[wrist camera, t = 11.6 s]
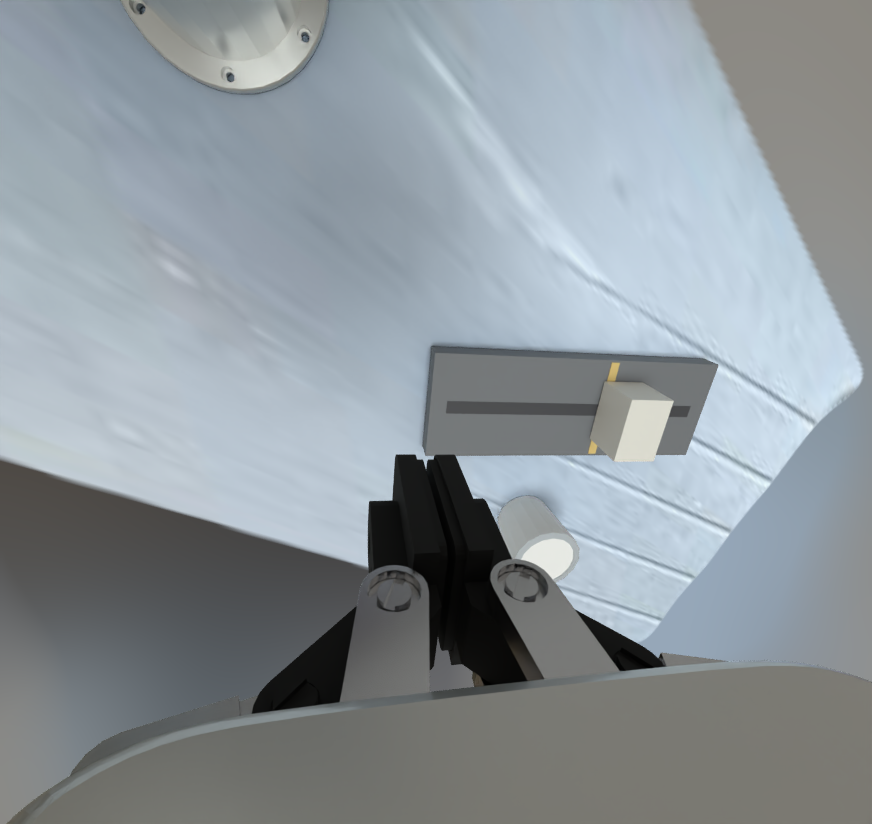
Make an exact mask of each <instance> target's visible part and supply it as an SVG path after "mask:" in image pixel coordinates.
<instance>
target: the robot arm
mask: <svg viewBox="0 0 872 824" xmlns="http://www.w3.org/2000/svg"><path fill="white" fill-rule="evenodd" d="M120 1H121V3H122V5H123V7H124V8H125V10H126V12H127V14H128V16H129V17H130V19H131V20H132V22H133V23H134V24H135V26H136V27H137V28H138V30H139V31H140V32H141V34H142V35H143V36H144V38H145V39H146V40H147V41H148V42H149V43H150V44H151V45H152V46H153V47H154V48H155V49H156V50H157V51H158V52H159V53H160V54H161V55H162V56H163V57H164V58H165V59H166V60H167V61H168V62H170V63H171V64H172V65H173V66H175V67H176V68H177V69H178V70H180V71H181V72H183V73H185V74H186V75H188V76H189V77H191V78H193V79H194V80H196V81H197V82H199V83H202V84H204V85H207V86H209V87H212V88H214V89H217V90H220V91H225V92H230V93H235V94H256V93H260V92H264V91H268V90H272V89H275V88H277V87H279V86H280V85H282V84H284V83H286V82H288V81H290V80H291V79H292V78H293V77H294V76H295V75H297V74H298V73H299V72H300V71H301V70H302V69H303V68H304V67H305V65H306V64H307V63H308V61H309V60H310V58H311V57H312V56H313V54H314V53H315V50H316V48H317V46H318V44H319V42H320V39H321V37H322V35H323V31H324V27H325V23H326V19H327V15H328V5H329V0H120ZM142 6H144V7H145V12H144V13H143V14H140V7H142ZM305 34H306V35H308V36H309V41H308V42H306V43H305V42H303V41H302V36H303V35H305ZM229 74H233V75H234V77H235V79H234V81H233V82H229V81H228V79H227V78H228V75H229ZM368 566H369V574H368V576H367V577H366V578H365V579H364V580H363V582H362V585H361V587H360V592H359V597H358V604H357V606H356V607H355V608H354V609H353V610H352V611H350V612H349V613H348V614H347V615H346V616H345V617H343V618H342V619H341V620H340V621H339V622H338V623H337V624H335V625H334V626H333V627H332V628H331V629H330V630H329V631H328V632H326V633H325V634H324V635H323V636H322V637H321V638H319V639H318V640H317V641H316V642H315V643H314V644H313V645H311V646H310V647H309V648H308V649H307V650H305V651H304V652H303V653H302V654H301V655H300V656H299V657H297V658H296V659H295V660H294V661H293V662H292V663H291V664H289V665H288V666H287V667H286V668H285V669H284V670H283V671H281V672H280V673H279V674H278V675H277V676H276V677H274V678H273V679H272V680H271V681H270V682H269V683H268V684H267V685H266V686H265V687H264V688H263V690H262V691H261V692H260V693H259V695H258V696H255V697H252V698H249V699H246V700H243V701H240V702H239V696H235V697H232V698H229V699H226V700H223V701H219V702H216V703H213V704H210V705H207V706H203V707H200V708H197V709H194V710H191V711H188V712H184V713H181V714H178V715H175V716H172V717H168V718H165V719H162V720H159V721H156V722H153V723H150V724H146V725H143V726H140V727H137V728H134V729H131V730H127V731H124V732H121V733H119V734H117V735H114V736H112V737H110V738H108V739H106V740H104V741H102V742H101V743H100V744H98V745H97V746H96V747H95V748H93V749H92V750H91V751H89V752H88V753H87V754H86V755H85V756H84V757H83V758H82V760H81V761H80V762H79V763H78V765H77V766H76V767H75V768H74V769H73V771H72V772H71V775H70V776H69V777H67V778H66V779H64V780H62V781H61V782H59V783H58V784H56V785H55V786H53V787H52V788H50V789H48V790H47V791H45V792H44V793H43V794H41V795H40V796H38V797H37V798H36V799H34V800H33V801H32V802H30V803H29V804H28V805H27V806H25V807H24V808H23V809H22V810H21V811H19V812H18V813H17V814H16V815H15V816H14V817H13V818H12V819H11V820H10V821H9V822H8V823H7V824H872V682H871V681H868V680H866V679H863V678H860V677H857V676H854V675H851V674H848V673H845V672H841V671H837V670H834V669H829V668H826V667H821V666H818V665H811V664H804V663H796V662H787V661H768V660H760V661H730V662H729V661H722V660H714V659H706V658H699V657H691V656H683V655H676V654H667V653H661V654H660V656H659V658H657V657H656V656H655V655H654V654H653V653H652V652H650V651H649V650H647V649H646V648H644V647H643V646H641V645H639V644H638V643H636V642H634V641H632V640H630V639H628V638H627V637H625V636H623V635H621V634H619V633H617V632H615V631H614V630H612V629H610V628H608V627H606V626H604V625H603V624H601V623H599V622H597V621H595V620H593V619H591V618H590V617H588V616H586V615H584V614H582V613H580V612H579V611H577V610H575V609H574V608H573V607H572V605H571V604H570V602H569V601H568V600H567V598H566V597H565V596H564V594H563V593H562V592H561V590H560V589H559V587H558V586H557V585H556V583H555V582H554V581H553V579H552V578H551V577H550V576H549V574H548V573H547V572H546V571H545V570H544V569H542V568H541V567H539V566H537V565H536V564H534V563H531V562H529V561H525V560H520V559H512V557H511V555H510V553H509V550H508V548H507V546H506V544H505V542H504V540H503V537H502V535H501V533H500V531H499V529H498V526H497V524H496V522H495V520H494V518H493V515H492V513H491V511H490V509H489V507H488V504H487V502H486V501H485V500H484V499H473V497H472V495H471V492H470V490H469V487H468V485H467V483H466V480H465V478H464V475H463V473H462V471H461V468H460V466H459V463H458V461H457V459H456V456H455V455H454V454H448V455H435V456H434V460H428V461H427V469H425V465H424V462H423V460H417V458H416V455H396V457H395V468H394V484H393V500H392V501H369V514H368ZM437 637H438V638H439V643H440V648H441V650H442V651H443V650H448V651H449V655H450V660H451V665H456V664H463V665H464V666H466V667H467V668H469V669H470V670H472V671H473V672H472V680H473V684H474V687H471V688H461V689H452V690H443V691H434V692H430V670H431V669H432V668H433V666H434V660H435V653H436V645H437Z"/></svg>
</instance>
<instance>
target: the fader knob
mask: <svg viewBox="0 0 872 824" xmlns="http://www.w3.org/2000/svg"><path fill="white" fill-rule="evenodd" d="M673 402H674V401H673V400H672V399H670V398H668V397H667V396H665V395H663V394H661V393H660V392H658V391H656V390H655V389H653V388H651V387H650V386H648V385H646V384H645V383H643V382H612V381H605V382H604V386H603V390H602V394H601V397H600V401H599V405H598V409H597V413H596V416H595V420H594V424H593V428H592V432H591V435H590V439H591V440H592V441H593V442H594V443H595V444H596V445H597V446H598V447H599V448H600V449H601V450H602V451H603V452H605V453H606V454H607V455H608V456H609V457H610V458H611V459H612V460H613V461H614V462H629V461H654V458H655V455H656V452H657V449H658V446H659V443H660V440H661V438H662V435H663V432H664V429H665V426H666V423H667V420H668V417H669V414H670V411H671V408H672V405H673Z"/></svg>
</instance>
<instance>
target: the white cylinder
mask: <svg viewBox="0 0 872 824" xmlns="http://www.w3.org/2000/svg"><path fill="white" fill-rule="evenodd" d="M498 525H499V528H500V531H501V535H502V537H503V540H504V542H505V544H506V546H507V548H508V550H509V553H510V555H511V557H512V559H520V560H525V561H529V562H531V563H534V564H536V565H537V566H539V567H541V568H542V569H544V570H545V571H546V572H547V573H548V574H549V576H550V577H551V578H552V579H553V581H554V582H555V583H556V582H558V581H560V580H562V579H564V578H565V577H566V576H567V575H568V574H569V573H570V572H571V571H572V570H573V569H574V567H575V565H576V563H577V562H578V560H579V547H578V545H577V543H576V541H575V539H574V538H573V537H572V536H571V535H570V533H569V532H568V531H567V530H566V529H565V527H564V526H563V525H562V524H561V523H560V522H559V520H558V519H557V518H556V517H555V516H554V515H553V513H552V512H551V511H550V510H549V509H548V507H547V506H546V505H545V504H544V503H543V502H542V501H541V500H540V499H538V498H537V497H533V496H521V497H517V498H515V499H513V500H511V501H509V502H508V503H507V504H506V505H505V506H504V507H503V508H502V509H501V512H500V514H499V516H498Z"/></svg>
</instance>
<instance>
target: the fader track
mask: <svg viewBox="0 0 872 824" xmlns="http://www.w3.org/2000/svg"><path fill="white" fill-rule="evenodd" d="M717 368H718V364H715V363H713V362H711V361H708V360H706V359H700V358H678V357H656V356H634V355H612V354H589V353H567V352H545V351H523V350H501V349H479V348H456V347H434V346H432V348H431V359H430V369H429V380H428V391H427V402H426V413H425V424H424V435H423V449H424V452H425V456H435V455H448V454H454V455H455V456H494V455H607V454H606V453H605V452H603V451H602V450H601V449H600V448H599V447H598V446H597V445H596V444H595V443H594V442H593V441H592V440H591V439H590V435H591V432H592V428H593V424H594V420H595V416H596V413H597V409H598V405H599V401H600V397H601V394H602V390H603V386H604V382H605V381H612V382H643V383H645V384H646V385H648V386H650V387H651V388H653V389H655V390H656V391H658V392H660V393H661V394H663V395H665V396H667V397H668V398H670V399H672V400H673V401H674V402H673V405H672V408H671V411H670V414H669V417H668V420H667V423H666V426H665V429H664V432H663V435H662V438H661V440H660V443H659V446H658V449H657V452H656V455H686V452H687V450H688V447H689V444H690V442H691V439H692V436H693V433H694V431H695V428H696V425H697V423H698V420H699V417H700V414H701V412H702V409H703V406H704V403H705V401H706V398H707V395H708V393H709V390H710V387H711V384H712V382H713V379H714V376H715V374H716V371H717Z"/></svg>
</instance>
